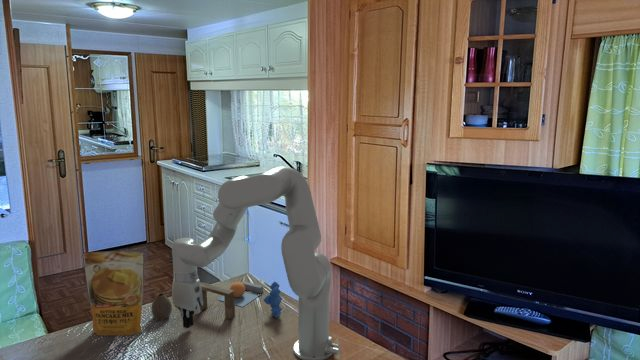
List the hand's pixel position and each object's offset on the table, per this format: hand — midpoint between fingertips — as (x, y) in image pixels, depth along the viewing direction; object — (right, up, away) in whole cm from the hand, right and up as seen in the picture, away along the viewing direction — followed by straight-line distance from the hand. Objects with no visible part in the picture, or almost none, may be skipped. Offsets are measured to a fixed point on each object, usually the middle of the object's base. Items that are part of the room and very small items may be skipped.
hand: (188, 326), depth 154 cm
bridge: (+7, +1, +12) cm, 14 cm away
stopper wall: (+17, +5, +31) cm, 36 cm away
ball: (+12, +6, +24) cm, 28 cm away
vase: (-12, 0, +9) cm, 15 cm away
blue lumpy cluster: (+28, 0, +12) cm, 30 cm away
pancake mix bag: (-23, -2, -1) cm, 23 cm away
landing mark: (+13, +3, +25) cm, 28 cm away
